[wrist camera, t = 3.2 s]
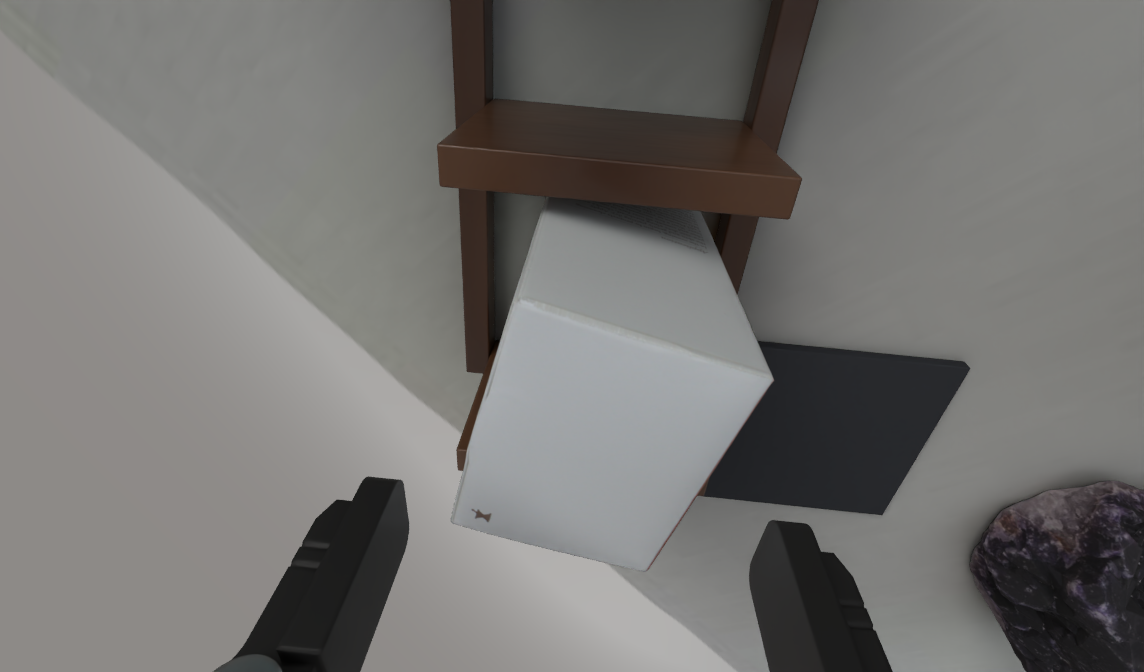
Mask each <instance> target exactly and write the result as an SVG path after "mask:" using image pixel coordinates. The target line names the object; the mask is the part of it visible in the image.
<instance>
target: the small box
mask: <svg viewBox="0 0 1144 672" xmlns="http://www.w3.org/2000/svg"><path fill="white" fill-rule="evenodd" d="M773 381H774V379H773V377H772V374H771V372H770V369H769V367H768V365H767V363H766V360H765V358H764V356H763V353H762V351H761V349H760V346H759V344H758V342H757V339H756V337H755V335H754V332H753V330H752V328H751V325H750V323H749V321H748V318H747V316H746V314H745V311H744V309H743V307H742V305H741V303H740V300H739V298H738V296H737V294H736V291H735V289H734V287H733V284H732V282H731V279H730V277H729V275H728V273H727V270H726V268H725V266H724V264H723V261H722V259H721V257H720V254H719V252H718V250H717V247H716V245H715V243H714V240H713V238H712V236H711V233H710V231H709V229H708V227H707V225H706V222H705V220H704V218H703V215H702V213H701V211H693V210H682V209H672V208H661V207H651V206H640V205H629V204H619V203H608V202H598V201H587V200H577V199H566V198H556V197H546V200H545V203H544V206H543V208H542V211H541V214H540V217H539V220H538V223H537V226H536V229H535V232H534V235H533V239H532V242H531V245H530V249H529V252H528V255H527V258H526V261H525V264H524V267H523V270H522V274H521V277H520V280H519V283H518V286H517V289H516V292H515V295H514V298H513V302H512V305H511V308H510V311H509V314H508V317H507V320H506V324H505V327H504V330H503V333H502V337H501V340H500V343H499V347H498V350H497V353H496V356H495V360H494V363H493V366H492V369H491V373H490V376H489V379H488V383H487V386H486V389H485V393H484V396H483V399H482V402H481V405H480V409H479V412H478V415H477V418H476V421H475V425H474V428H473V431H472V435H471V438H470V442H469V445H468V448H467V453H466V460H465V465H464V469H463V473H462V476H461V480H460V484H459V488H458V492H457V495H456V499H455V503H454V507H453V511H452V516H451V522H452V523H453V524H457V525H460V526H463V527H466V528H470V529H474V530H477V531H480V532H484V533H487V534H491V535H494V536H498V537H502V538H506V539H510V540H514V541H518V542H522V543H525V544H529V545H534V546H538V547H542V548H546V549H550V550H554V551H558V552H562V553H567V554H570V555H574V556H579V557H583V558H587V559H592V560H596V561H599V562H604V563H608V564H612V565H617V566H621V567H626V568H631V569H635V570H638V571H643V572H645V571H647V570H648V569H649V568H650V566H651V565H652V563H653V562H654V560H655V559H656V557H657V556H658V554H659V553H660V551H661V550H662V548H663V547H664V545H665V543H666V542H667V540H668V539H669V537H670V536H671V534H672V533H673V531H674V530H675V528H676V527H677V526H678V524H679V523H680V521H681V519H682V518H683V516H684V515H685V513H686V512H687V510H688V509H689V507H690V506H691V504H692V502H693V501H694V499H695V498H696V496H697V495H698V494H699V492H700V491H701V489H702V488H703V486H704V485H705V483H706V482H707V480H708V479H709V477H710V476H711V474H712V473H713V471H714V470H715V468H716V467H717V465H718V464H719V462H720V461H721V459H722V458H723V456H724V454H725V453H726V451H727V450H728V448H729V447H730V445H731V444H732V442H733V441H734V439H735V438H736V436H737V435H738V433H739V431H740V430H741V428H742V427H743V426H744V424H745V423H746V421H747V420H748V418H749V417H750V415H751V414H752V412H753V411H754V409H755V408H756V406H757V405H758V403H759V402H760V400H761V399H762V397H763V396H764V394H765V393H766V391H767V389H768V388H769V387H770V385H771V384H772V383H773Z"/></svg>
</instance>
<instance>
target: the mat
mask: <svg viewBox="0 0 1144 672" xmlns="http://www.w3.org/2000/svg"><path fill="white" fill-rule="evenodd" d="M757 342H758V344H759V346H760V349H761V351H762V353H763V356H764V358H765V360H766V363H767V365H768V367H769V369H770V372H771V374H772V377H773V379H774V381H773V383H772V384H771V385H770V387H769V388H768V389H767V391H766V393H765V394H764V396H763V397H762V399H761V400H760V402H759V403H758V405H757V406H756V408H755V409H754V411H753V412H752V414H751V415H750V417H749V418H748V420H747V421H746V423H745V424H744V426H743V427H742V428H741V430H740V431H739V433H738V435H737V436H736V438H735V439H734V441H733V442H732V444H731V445H730V447H729V448H728V450H727V451H726V453H725V454H724V456H723V458H722V459H721V461H720V462H719V464H718V465H717V467H716V468H715V470H714V471H713V473H712V474H711V476H710V477H709V481H708V484H707V487H706V490H705V494H704V496H706V497H715V498H725V499H734V500H744V501H753V502H763V503H772V504H782V505H791V506H801V507H810V508H820V509H829V510H839V511H848V512H858V513H867V514H877V515H883V513H884V511H885V510H886V508H887V506H888V505H889V503H890V501H891V500H892V498H893V496H894V495H895V493H896V491H897V490H898V488H899V486H900V485H901V483H902V481H903V480H904V478H905V476H906V475H907V473H908V471H909V470H910V468H911V466H912V465H913V463H914V461H915V460H916V458H917V456H918V455H919V453H920V451H921V450H922V448H923V446H924V445H925V443H926V441H927V440H928V438H929V436H930V435H931V433H932V431H933V430H934V428H935V426H936V425H937V423H938V421H939V420H940V418H941V416H942V415H943V413H944V411H945V410H946V408H947V406H948V405H949V403H950V401H951V400H952V398H953V396H954V395H955V393H956V391H957V390H958V388H959V387H960V385H961V383H962V382H963V380H964V378H965V377H966V375H967V373H968V372H969V370H970V367H969V366H968V365H967V364H966V363H965V362H962V361H952V360H942V359H932V358H922V357H912V356H902V355H892V354H881V353H871V352H861V351H851V350H841V349H831V348H821V347H811V346H801V345H791V344H781V343H771V342H761V341H757Z"/></svg>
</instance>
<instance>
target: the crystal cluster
mask: <svg viewBox="0 0 1144 672" xmlns="http://www.w3.org/2000/svg"><path fill="white" fill-rule="evenodd" d="M971 557H972V561H971V563H970V569H971V571H972V572H973V574H974V576H975V577H974V582H975V584H976V586H977V588H978V590H979V592H980V593H981V595H982V596H983V598H984V600H985V601H986V603H987V604H988V606H989V608H990V609H991V611H992V612H993V614H994V616H995V618H996V620H997V621H998V623H999V625H1000V626H1001V628H1002V630H1003V631H1004V633H1005V635H1006V637H1007V639H1008V640H1009V642H1010V644H1011V646H1012V648H1013V650H1014V653H1015V654H1016V656H1017V657H1018V658H1019V660H1020V661H1021V663H1022V665H1023V668H1024V669H1025V671H1026V672H1144V490H1139V489H1137V488H1135V487H1133V486H1130V485H1127V484H1125V483H1122V482H1119V481H1103V482H1098V483H1096V484H1093V485H1089V486H1085V487H1077V488H1067V489H1058V490H1048V491H1046V492H1044V493H1041V494H1039V495H1037V496H1035V497H1032V498H1030V499H1027V500H1024V501H1021V502H1018V503H1016V504H1013V505H1011V506H1009V507H1008V508H1006V509H1004V510H1002V511H1001V512H1000V513H999V515H998V516H997V517H996V519H995V520H994V521H993V522H992V523H991V524H990V525H989V528H988V529H987V530H986V531H985V532H984V533H983V537H982V540H981V542H980V543H979V544H978V545H977V546H976V547H975V549H974V551H973V554H972V556H971Z"/></svg>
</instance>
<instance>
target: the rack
mask: <svg viewBox="0 0 1144 672" xmlns="http://www.w3.org/2000/svg"><path fill="white" fill-rule="evenodd" d="M818 2H819V0H772V3H771V7H770V11H769V16H768V20H767V24H766V28H765V32H764V37H763V41H762V45H761V49H760V54H759V58H758V62H757V66H756V71H755V75H754V79H753V83H752V88H751V92H750V96H749V100H748V105H747V109H746V113H745V117H744V121H743V122H742V121H736V120H725V119H714V118H703V117H692V116H681V115H670V114H659V113H649V112H638V111H627V110H616V109H605V108H594V107H583V106H572V105H561V104H550V103H539V102H528V101H517V100H506V99H493V25H492V0H450V4H451V27H452V49H453V72H454V95H455V117H456V130H455V131H453V132H452V133H451V134H450V135H448V136H447V137H446V138H445V139H443V140H442V141H441V142H440V143H438V145H437V152H438V168H439V183H440V186H442V187H450V188H459V208H460V231H461V253H462V276H463V298H464V321H465V344H466V366H467V372H473V373H483V376H482V379H481V382H480V385H479V388H478V391H477V393H476V396H475V399H474V402H473V405H472V408H471V410H470V413H469V416H468V419H467V422H466V424H465V427H464V430H463V433H462V436H461V439H460V441H459V444H458V447H457V464H458V470H460V471H463V469H464V465H465V460H466V453H467V448H468V445H469V442H470V438H471V435H472V431H473V428H474V425H475V421H476V418H477V415H478V412H479V409H480V405H481V402H482V399H483V396H484V393H485V389H486V386H487V383H488V379H489V376H490V373H491V369H492V366H493V363H494V360H495V356H496V353H497V350H498V347H499V343H500V340H495V287H494V192H503V193H513V194H524V195H534V196H545V197H556V198H566V199H577V200H587V201H598V202H608V203H619V204H629V205H640V206H651V207H661V208H672V209H682V210H693V211H703V212H714V213H722V215H721V219H720V223H719V227H718V232H717V236H716V240H715V245H716V247H717V250H718V252H719V254H720V257H721V259H722V261H723V264H724V266H725V268H726V270H727V273H728V275H729V277H730V279H731V282H732V284H733V287H734V289H735V291H736V294H738V291H739V287H740V284H741V280H742V276H743V273H744V269H745V266H746V262H747V258H748V255H749V251H750V247H751V244H752V240H753V237H754V233H755V229H756V226H757V222H758V219H759V217H767V218H777V219H790V217H791V213H792V210H793V207H794V204H795V201H796V197H797V194H798V191H799V188H800V185H801V181H802V178H801V177H800V176H799V175H798V174H797V173H796V172H795V171H794V170H793V169H792V168H791V167H790V166H789V165H788V164H787V163H786V162H785V161H783V160H782V159H781V158H780V157H779V156H778V155H777V150H778V146H779V143H780V139H781V135H782V132H783V128H784V125H785V121H786V117H787V114H788V110H789V107H790V103H791V99H792V96H793V92H794V88H795V85H796V81H797V78H798V74H799V70H800V67H801V63H802V60H803V56H804V52H805V49H806V45H807V41H808V38H809V34H810V31H811V27H812V23H813V20H814V16H815V13H816V9H817V5H818ZM708 481H709V479H708V480H707V482H706V483H705V485H704V486H703V488H702V489H701V491H700V492H699V494H698V495H697V496H704V494H705V490H706V487H707V484H708Z"/></svg>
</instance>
